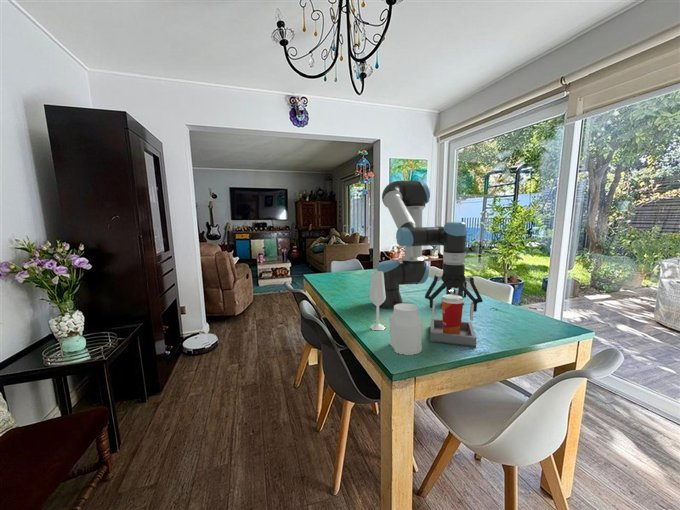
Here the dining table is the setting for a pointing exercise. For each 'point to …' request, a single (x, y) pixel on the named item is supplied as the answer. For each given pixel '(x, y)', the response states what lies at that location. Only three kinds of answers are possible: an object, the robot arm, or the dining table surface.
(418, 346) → the jar
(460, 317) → the coffee cup
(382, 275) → the champagne flute
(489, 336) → the dining table surface
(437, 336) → the bin
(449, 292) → the french press
